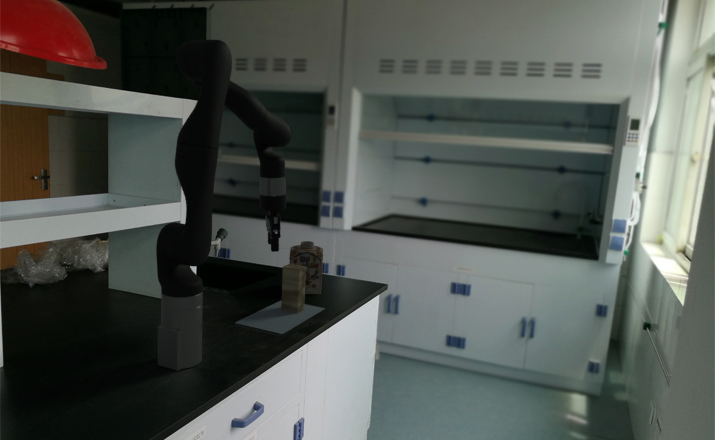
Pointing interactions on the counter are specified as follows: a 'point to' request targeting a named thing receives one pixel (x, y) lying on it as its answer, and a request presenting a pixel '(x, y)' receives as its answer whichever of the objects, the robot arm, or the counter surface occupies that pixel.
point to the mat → (278, 318)
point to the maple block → (293, 288)
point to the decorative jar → (309, 264)
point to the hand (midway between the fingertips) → (273, 247)
